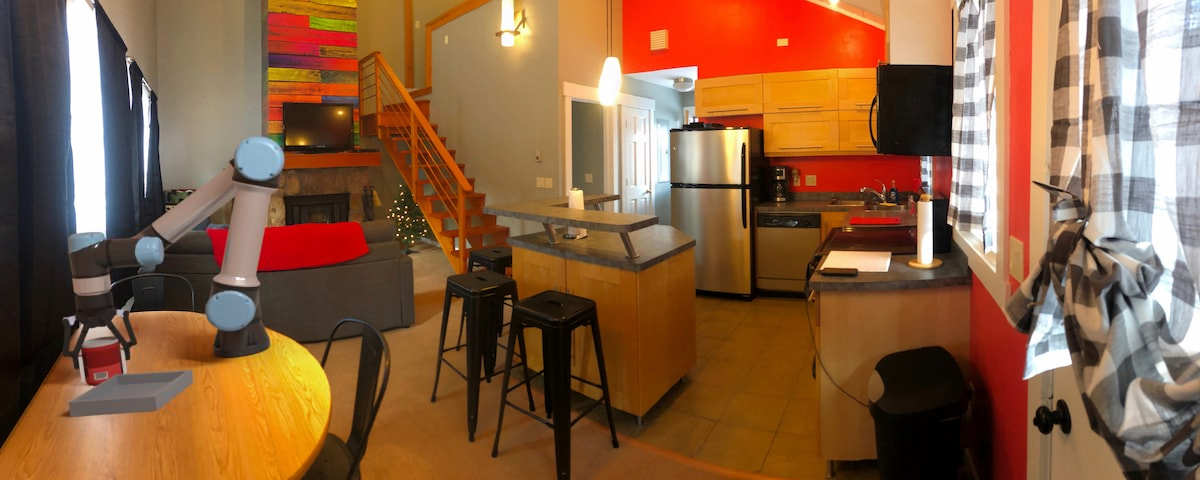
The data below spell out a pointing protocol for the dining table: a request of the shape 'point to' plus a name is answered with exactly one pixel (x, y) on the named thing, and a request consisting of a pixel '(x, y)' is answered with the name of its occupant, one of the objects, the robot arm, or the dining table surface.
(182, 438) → the dining table surface
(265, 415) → the dining table surface
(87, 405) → the tray
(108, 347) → the canned food
